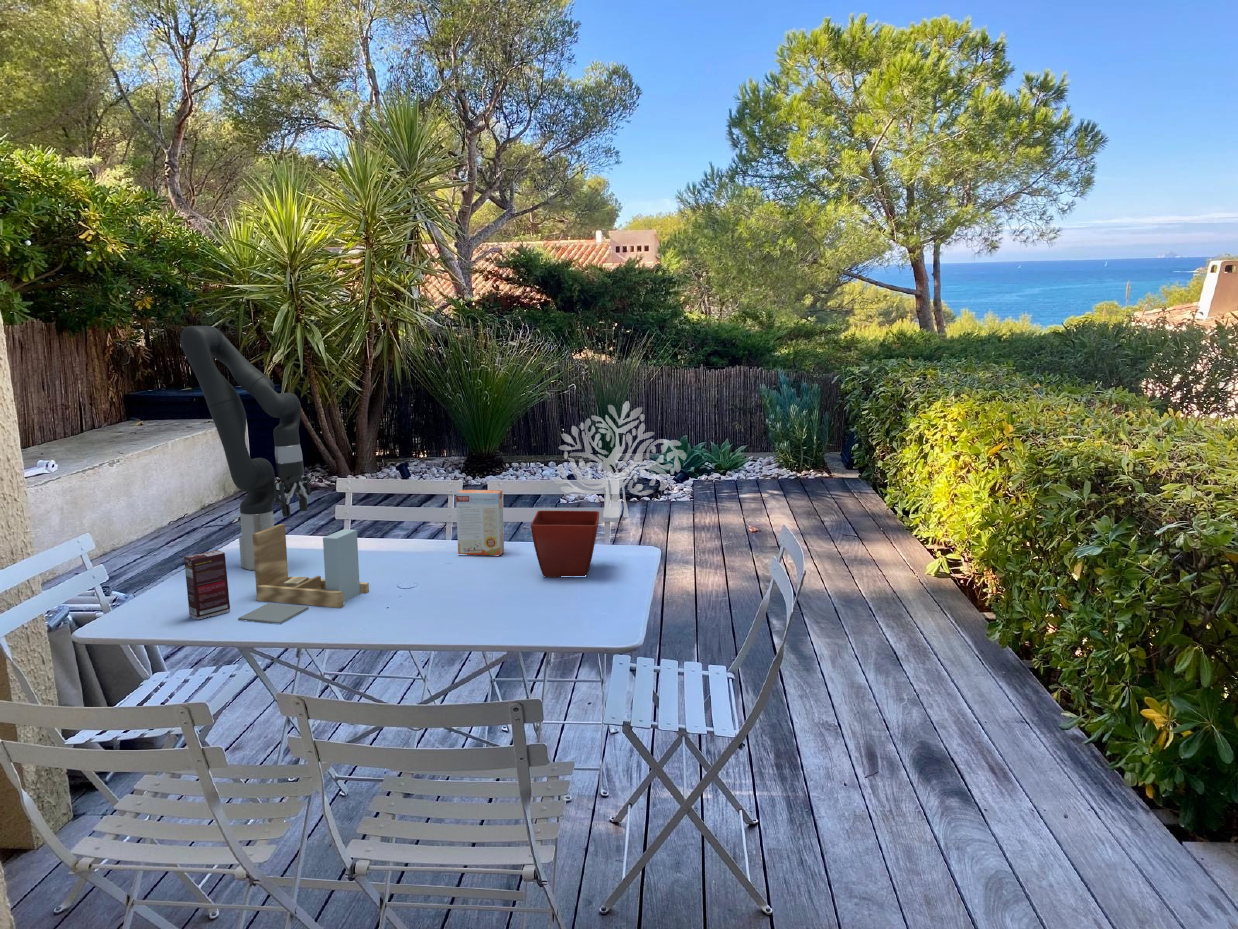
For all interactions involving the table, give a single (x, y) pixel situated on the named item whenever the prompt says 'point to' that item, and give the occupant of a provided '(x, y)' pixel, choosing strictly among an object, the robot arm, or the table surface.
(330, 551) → the upright blue-grey block
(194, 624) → the table surface
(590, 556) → the plant pot
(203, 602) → the supplement box
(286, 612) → the mat
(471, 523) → the cracker box
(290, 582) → the offcut slab upper
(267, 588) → the frame
